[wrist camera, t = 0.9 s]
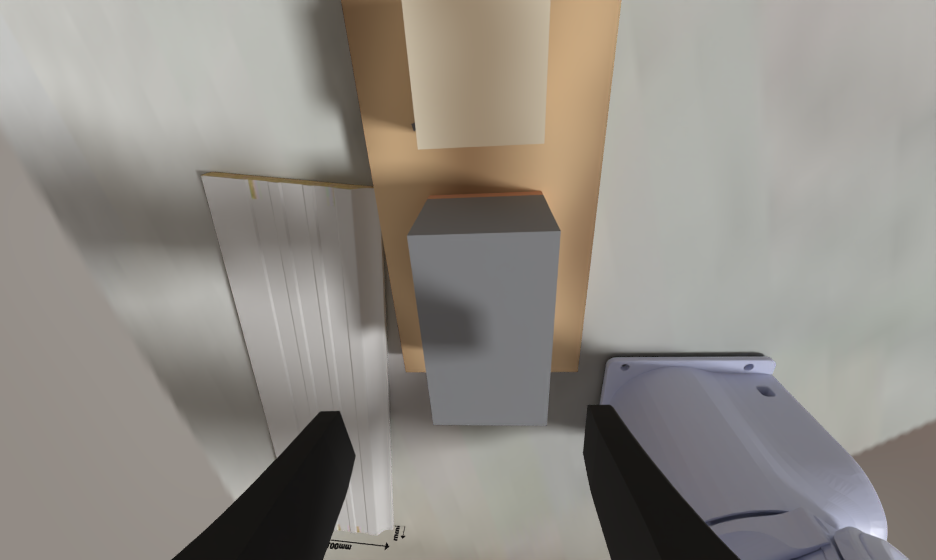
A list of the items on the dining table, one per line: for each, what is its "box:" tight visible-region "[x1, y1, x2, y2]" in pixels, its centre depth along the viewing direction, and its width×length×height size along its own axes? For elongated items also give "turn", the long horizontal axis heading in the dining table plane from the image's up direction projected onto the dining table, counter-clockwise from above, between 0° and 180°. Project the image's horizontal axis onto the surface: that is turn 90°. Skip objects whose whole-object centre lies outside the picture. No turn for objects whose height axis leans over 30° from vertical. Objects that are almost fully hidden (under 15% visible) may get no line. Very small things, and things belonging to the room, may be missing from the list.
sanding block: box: [407, 191, 561, 426], centre depth 16 cm, size 5×9×5 cm, turn 3°
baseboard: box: [201, 172, 405, 550], centre depth 24 cm, size 30×3×10 cm
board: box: [341, 0, 621, 372], centre depth 17 cm, size 10×22×2 cm, turn 3°
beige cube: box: [401, 0, 550, 150], centre depth 12 cm, size 4×4×4 cm
